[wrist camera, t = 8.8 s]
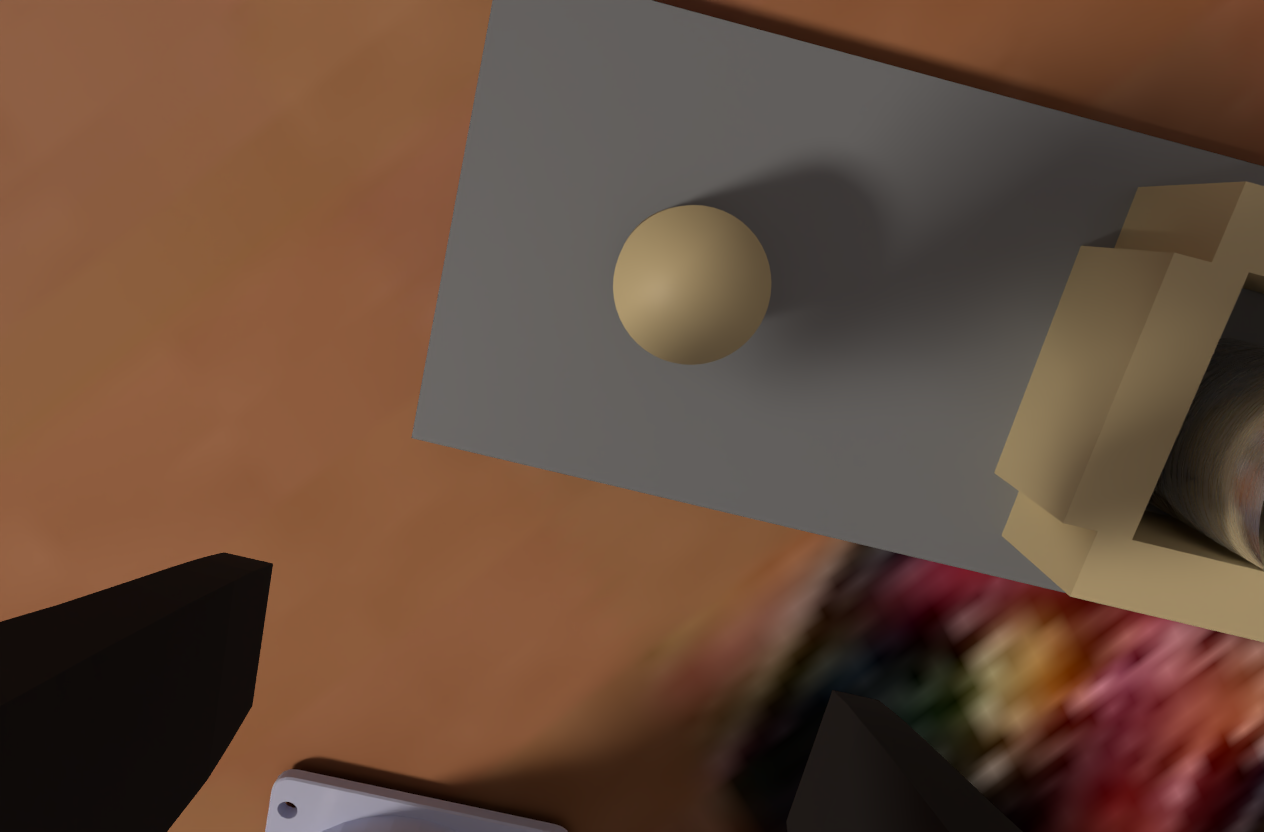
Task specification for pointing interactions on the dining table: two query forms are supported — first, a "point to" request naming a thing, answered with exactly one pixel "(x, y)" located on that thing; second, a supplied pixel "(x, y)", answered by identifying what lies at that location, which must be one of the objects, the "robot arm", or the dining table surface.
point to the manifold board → (842, 300)
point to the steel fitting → (1222, 454)
